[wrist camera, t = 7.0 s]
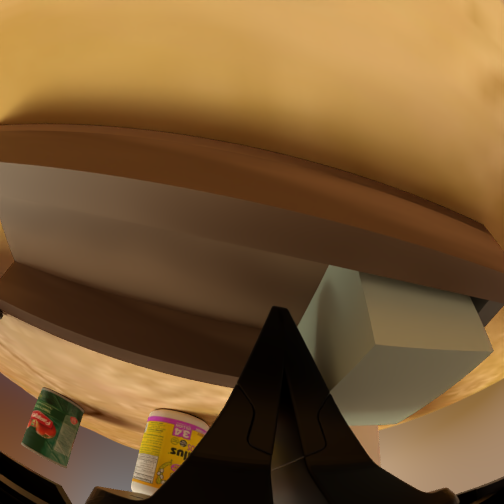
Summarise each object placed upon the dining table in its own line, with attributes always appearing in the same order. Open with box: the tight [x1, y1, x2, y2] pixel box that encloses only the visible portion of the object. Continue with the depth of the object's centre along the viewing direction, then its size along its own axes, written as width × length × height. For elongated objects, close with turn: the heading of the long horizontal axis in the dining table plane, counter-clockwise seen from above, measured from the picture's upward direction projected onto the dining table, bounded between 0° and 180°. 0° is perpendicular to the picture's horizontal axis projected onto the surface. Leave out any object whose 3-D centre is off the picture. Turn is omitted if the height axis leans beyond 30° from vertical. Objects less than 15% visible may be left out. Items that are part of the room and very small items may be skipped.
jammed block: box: [297, 265, 493, 426], centre depth 9 cm, size 6×5×4 cm
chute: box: [0, 124, 504, 388], centre depth 10 cm, size 9×22×4 cm, turn 78°
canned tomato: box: [21, 388, 84, 468], centre depth 29 cm, size 8×8×11 cm
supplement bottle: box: [131, 409, 209, 496], centre depth 21 cm, size 7×7×13 cm
